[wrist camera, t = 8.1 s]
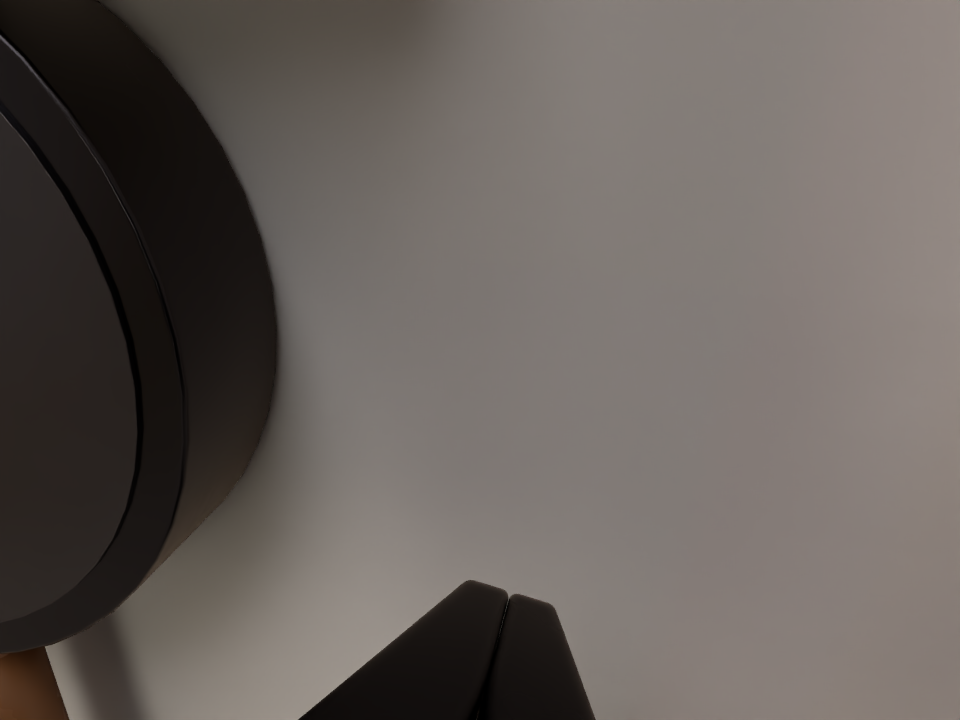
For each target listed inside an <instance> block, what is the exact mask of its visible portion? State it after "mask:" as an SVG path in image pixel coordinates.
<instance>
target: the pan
mask: <svg viewBox="0 0 960 720" xmlns="http://www.w3.org/2000/svg"><path fill="white" fill-rule="evenodd" d="M275 370H276V321H275V312H274V303H273V294H272V285H271V280H270V276H269V272H268V268H267V263H266V259H265V255H264V251H263V246H262V242H261V238H260V235H259V233H258V230H257V227H256V224H255V222H254V219H253V216H252V213H251V210H250V208H249V205H248V202H247V199H246V196H245V194H244V191H243V189H242V187H241V185H240V183H239V181H238V179H237V177H236V175H235V173H234V171H233V169H232V167H231V165H230V163H229V161H228V159H227V157H226V155H225V153H224V150H223V148H222V146H221V145H220V143H219V142H218V140H217V138H216V137H215V135H214V134H213V132H212V131H211V129H210V127H209V126H208V124H207V123H206V121H205V119H204V118H203V116H202V115H201V113H200V112H199V110H198V108H197V107H196V105H195V104H194V102H193V101H192V99H191V98H190V97H189V96H188V94H187V93H186V92H185V91H184V89H183V88H182V87H181V86H180V84H179V83H178V82H177V81H176V79H175V78H174V77H173V76H172V74H171V73H170V72H169V71H168V69H167V68H166V67H165V65H164V64H163V63H162V62H161V60H160V59H159V58H158V57H157V56H156V55H155V54H154V53H153V52H152V51H151V50H150V49H149V48H148V47H147V46H146V45H145V44H144V43H143V42H142V41H141V40H140V39H139V38H138V37H137V36H136V35H135V34H134V33H133V32H132V31H131V30H130V29H129V28H128V27H127V26H126V25H125V24H124V23H123V22H122V21H121V20H120V19H118V18H117V17H116V16H115V15H113V14H112V13H111V12H110V11H108V10H107V9H106V8H105V7H103V6H102V5H101V4H100V3H98V2H97V1H96V0H0V720H69V717H68V714H67V711H66V708H65V705H64V702H63V699H62V696H61V693H60V690H59V688H58V685H57V682H56V679H55V676H54V673H53V670H52V667H51V664H50V661H49V658H48V655H47V652H46V649H45V646H48V645H52V644H55V643H57V642H59V641H62V640H64V639H67V638H69V637H71V636H74V635H76V634H78V633H81V632H83V631H85V630H87V629H89V628H90V627H92V626H93V625H95V624H96V623H98V622H99V621H101V620H102V619H104V618H105V617H107V616H108V615H110V614H111V613H113V612H114V611H115V610H116V609H117V608H118V607H119V606H120V605H121V604H122V603H123V602H124V601H125V600H126V599H128V598H129V597H130V596H131V595H132V594H133V593H134V592H135V591H136V590H137V589H138V588H139V587H140V586H141V585H142V584H143V583H144V582H145V581H146V580H147V579H148V578H149V577H150V576H151V575H152V574H153V573H154V572H155V570H156V569H157V568H158V567H159V566H160V565H161V564H162V563H163V562H164V561H165V560H166V559H167V558H168V557H169V556H170V555H171V554H172V553H173V552H174V551H175V550H176V549H177V548H178V547H179V546H180V545H181V544H182V543H183V542H184V541H185V540H186V539H187V538H188V537H189V536H190V535H191V534H192V533H193V532H194V531H195V530H196V529H197V528H198V527H199V526H200V524H201V523H202V522H203V521H204V520H205V519H206V518H207V517H208V516H209V515H210V514H211V513H212V512H213V511H214V510H215V509H216V508H217V507H218V506H219V505H220V504H221V503H222V502H223V501H224V500H225V499H226V497H227V496H228V494H229V493H230V492H231V490H232V489H233V488H234V486H235V485H236V483H237V482H238V481H239V479H240V478H241V477H242V475H243V474H244V472H245V470H246V468H247V466H248V464H249V462H250V460H251V458H252V456H253V454H254V452H255V450H256V448H257V446H258V444H259V440H260V437H261V434H262V431H263V428H264V424H265V421H266V418H267V415H268V412H269V408H270V402H271V395H272V389H273V383H274V376H275Z"/></svg>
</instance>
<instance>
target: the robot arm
mask: <svg viewBox="0 0 960 720" xmlns="http://www.w3.org/2000/svg"><path fill="white" fill-rule="evenodd" d="M507 603H508V605H507ZM506 607H507V608H506ZM505 610H506V612H505ZM504 614H505V616H504ZM503 618H504V619H503ZM502 622H503V623H502ZM501 626H502V627H501ZM499 633H500V634H499ZM498 637H499V638H498ZM476 719H477V720H596V719H595V717H594V714H593V711H592V708H591V706H590V703H589V700H588V697H587V695H586V692H585V689H584V687H583V684H582V681H581V678H580V676H579V673H578V670H577V667H576V665H575V662H574V659H573V656H572V654H571V651H570V648H569V645H568V643H567V640H566V637H565V634H564V632H563V629H562V626H561V623H560V621H559V618H558V615H557V613H556V610H555V608H554V607H553V606H552V605H551V604H549V603H547V602H543V601H540V600H537V599H534V598H530V597H527V596H524V595H520V594H514V595H512V596H511V597H510V598H509V601H508V593H507V592H506V591H505V590H503V589H501V588H497V587H494V586H491V585H488V584H484V583H481V582H478V581H475V580H468V581H465V582H464V583H463V584H461V585H460V586H459V587H458V588H456V589H455V590H454V591H453V592H452V593H450V594H449V595H448V596H447V597H446V598H444V599H443V600H442V601H441V602H440V603H438V604H437V605H436V606H435V607H434V608H432V609H431V610H430V611H429V612H427V613H426V614H425V615H424V616H423V617H421V618H420V619H419V620H418V621H417V622H415V623H414V624H413V625H412V626H411V627H409V628H408V629H407V630H406V631H405V632H403V633H402V634H401V635H400V636H399V637H397V638H396V639H395V640H394V641H392V642H391V643H390V644H389V645H388V646H386V647H385V648H384V649H383V650H382V651H380V652H379V653H378V654H377V655H376V656H374V657H373V658H372V659H371V660H370V661H368V662H367V663H366V664H365V665H364V666H362V667H361V668H360V669H359V670H357V671H356V672H355V673H354V674H353V675H351V676H350V677H349V678H348V679H347V680H345V681H344V682H343V683H342V684H341V685H339V686H338V687H337V688H336V689H335V690H333V691H332V692H331V693H330V694H329V695H327V696H326V697H325V698H324V699H322V700H321V701H320V702H319V703H318V704H316V705H315V706H314V707H313V708H312V709H310V710H309V711H308V712H307V713H306V714H304V715H303V716H302V717H301V718H300V719H298V720H476Z"/></svg>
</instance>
